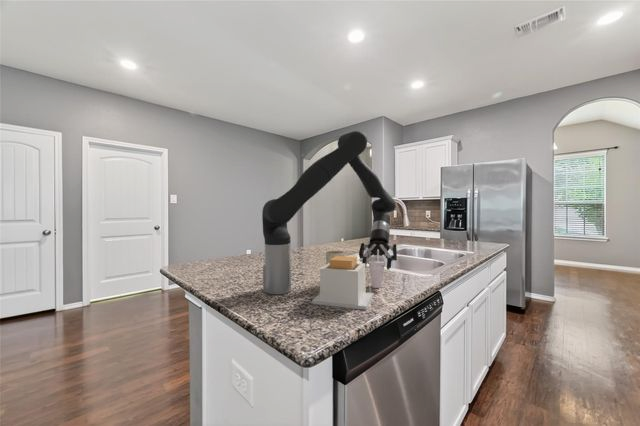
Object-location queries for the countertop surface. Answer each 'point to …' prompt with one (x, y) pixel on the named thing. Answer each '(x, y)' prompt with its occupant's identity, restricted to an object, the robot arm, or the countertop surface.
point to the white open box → (343, 288)
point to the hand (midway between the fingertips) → (376, 267)
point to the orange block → (343, 262)
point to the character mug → (333, 255)
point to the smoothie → (376, 271)
